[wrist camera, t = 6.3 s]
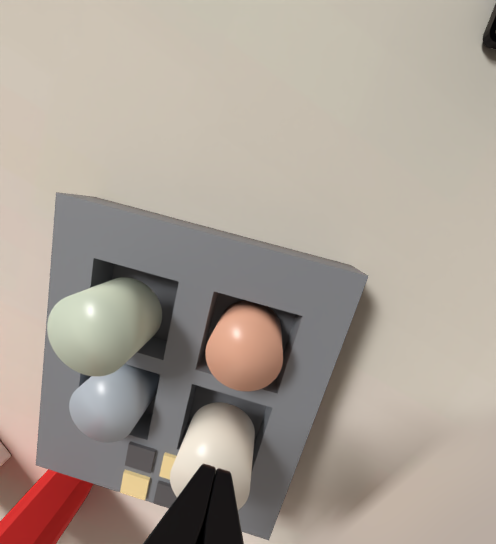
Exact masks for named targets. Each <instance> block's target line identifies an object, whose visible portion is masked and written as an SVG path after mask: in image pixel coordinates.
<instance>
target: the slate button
mask: <svg viewBox="0 0 496 544" xmlns="http://www.w3.org/2000/svg"><path fill="white" fill-rule="evenodd" d="M158 384H159V376H158V374H157V373H154V372H150V371H147V370H143V369H140V368H137V367H133V366H130V365H127V364H124V365H123V366H122V367H121V368H120V369H119V370H117V371H116V372H114V373H112V374H109V375H106V376H91V377H90V378H89V379H88V380H87V381H85V382H84V383H83V384H82V385H81V386H80V387H79V388H77V389H76V390H75V391H74V393H73V394H72V396H71V398H70V403H69V410H70V415H71V417H72V420H73V422H74V423H75V425H76V426H77V427H78V429H79V430H80V431H81V432H83V433H84V434H85V435H86V436H88V437H90V438H92V439H94V440H96V441H100V442H105V443H112V442H118V441H120V440H122V439H124V438H126V437H127V436H128V435H129V434H130V433H131V431H132V430H133V428H134V427H135V425H136V424H137V422H138V421H139V419H140V418H141V416H142V415H143V413H144V412H145V410H146V409H147V407H148V406H149V404H150V403H151V401H152V400H153V398H154V397H155V395H156V394H157V389H158Z"/></svg>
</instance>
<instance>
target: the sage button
mask: <svg viewBox="0 0 496 544" xmlns="http://www.w3.org/2000/svg"><path fill="white" fill-rule="evenodd" d="M161 322H162V308H161V305H160V302H159V299H158V298H157V296H156V294H155V293H154V292H153V291H152V290H151V288H150V287H148V286H147V285H146V284H144V283H143V282H141V281H139V280H136V279H133V278H128V277H120V278H116V279H113V280H110V281H107V282H105V283H102V284H99V285H97V286H94V287H91V288H89V289H86V290H83V291H81V292H78V293H75V294H73V295H70V296H67V297H65V298H63V299H62V300H60V301H59V302H58V303H57V304H56V305H55V306H54V307H53V309H52V310H51V312H50V314H49V318H48V323H47V332H48V338H49V341H50V344H51V346H52V348H53V350H54V352H55V353H56V355H57V356H58V357H59V358H60V360H61V361H62V362H63V363H64V364H66V365H67V366H68V367H70V368H71V369H73V370H74V371H76V372H78V373H81V374H84V375H88V376H106V375H109V374H112V373H114V372H116V371H117V370H119V369H120V368H121V367H122V366H123V365H124V364H125V363H126V362H127V361H128V360H129V359H130V358H131V357H132V356H133V355H134V354H135V353H136V352H137V351H138V350H139V349H140V348H142V347H143V346H144V345H145V344H146V343H147V342H148V341H149V340H150V339H151V338H152V337H153V336H154V335H155V334H156V333H157V331H158V329H159V327H160V325H161Z"/></svg>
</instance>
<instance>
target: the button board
mask: <svg viewBox="0 0 496 544" xmlns="http://www.w3.org/2000/svg"><path fill="white" fill-rule="evenodd" d="M120 277H128V278H133V279H136V280H139V281H141V282H143V283H144V284H146V285H147V286H148V287H150V288H151V290H152V291H153V292H154V293H155V294H156V296H157V298H158V299H159V302H160V305H161V308H162V322H161V325H160V327H159V329H158V331H157V333H156V334H155V335H154V336H153V337H152V338H151V339H150V340H149V341H148V342H147V343H146V344H145V345H144V346H143V347H142V348H140V349H139V350H138V351H137V352H136V353H135V354H134V355H133V356H132V357H131V358H130V359H129V360H128V361H127V362H126V363H125V364H127V365H130V366H133V367H137V368H140V369H143V370H147V371H150V372H154V373H157V374H158V376H159V384H158V389H157V394H156V395H155V397H154V398H153V400H152V401H151V403H150V404H149V406H148V407H147V409H146V410H145V412H144V413H143V415H142V416H141V418H140V419H139V421H138V422H137V424H136V425H135V427H134V428H133V430H132V431H131V433H130V434H129V435H128V436H127V437H126V438H124V439H122V440H120V441H118V442H112V443H105V442H100V441H96V440H94V439H92V438H90V437H88V436H86V435H85V434H84V433H83V432H81V431H80V430H79V429H78V427H77V426H76V425H75V423H74V422H73V420H72V417H71V415H70V410H69V403H70V398H71V396H72V394H73V393H74V391H75V390H76V389H77V388H79V387H80V386H81V385H82V384H83V383H84V382H85V381H87V380H88V379H89V378H90V377H91V376H88V375H84V374H81V373H78V372H76V371H74V370H73V369H71V368H70V367H68V366H67V365H66V364H64V363H63V362H62V361H61V360H60V358H59V357H58V356H57V355H56V353H55V352H54V350H53V348H52V346H51V344H50V341H49V338H48V332H47V323H48V318H49V314H50V312H51V310H52V309H53V307H54V306H55V305H56V304H57V303H58V302H59V301H60V300H62V299H63V298H65V297H67V296H70V295H73V294H75V293H78V292H81V291H83V290H86V289H89V288H91V287H94V286H97V285H99V284H102V283H105V282H107V281H110V280H113V279H116V278H120ZM367 279H368V275H366V274H364V273H363V272H361V271H359V270H358V269H356V268H355V267H353V266H351V265H348V264H344V263H340V262H337V261H333V260H329V259H325V258H322V257H318V256H314V255H310V254H307V253H303V252H299V251H295V250H292V249H288V248H284V247H280V246H277V245H273V244H269V243H265V242H262V241H258V240H254V239H250V238H247V237H243V236H239V235H235V234H232V233H228V232H224V231H220V230H217V229H213V228H209V227H205V226H202V225H198V224H194V223H190V222H187V221H183V220H179V219H175V218H172V217H168V216H164V215H160V214H157V213H153V212H149V211H145V210H142V209H138V208H134V207H130V206H127V205H123V204H119V203H115V202H112V201H108V200H104V199H100V198H97V197H90V196H82V195H74V194H66V193H57V192H56V202H55V215H54V229H53V242H52V255H51V269H50V282H49V296H48V309H47V322H46V336H45V349H44V362H43V376H42V389H41V403H40V416H39V429H38V443H37V456H36V465H37V466H40V467H43V468H46V469H49V470H52V471H55V472H59V473H62V474H65V475H68V476H71V477H74V478H77V479H80V480H83V481H86V482H90V483H93V484H96V485H99V486H102V487H105V488H108V489H111V490H114V491H118V492H120V493H123V494H126V495H129V496H132V497H136V498H139V499H142V500H145V501H149V502H152V503H154V504H157V505H160V506H164V507H167V508H170V507H171V505H172V504H173V503H174V501H175V500H176V498H177V497H176V495H175V494H174V492H173V490H172V487H171V484H170V472H171V469H172V466H173V464H174V461H175V459H176V457H177V454H178V452H179V449H180V447H181V444H182V442H183V440H184V437H185V435H186V432H187V430H188V427H189V425H190V423H191V420H192V418H193V416H194V414H195V413H196V412H197V411H198V410H199V409H200V408H201V407H203V406H205V405H207V404H210V403H216V402H222V403H228V404H231V405H234V406H236V407H238V408H240V409H241V410H243V411H244V412H245V413H246V414H247V415H248V416H249V418H250V419H251V421H252V423H253V425H254V429H255V438H254V449H253V460H252V471H251V482H250V493H249V497H248V499H247V501H246V503H245V504H244V505H243V506H242V507H241V508H240V509H239V510H238V514H239V520H240V525H241V531H242V532H245V533H248V534H251V535H254V536H257V537H260V538H263V539H267V540H269V538H270V536H271V533H272V530H273V528H274V525H275V522H276V520H277V517H278V514H279V512H280V509H281V507H282V504H283V501H284V499H285V496H286V493H287V491H288V488H289V485H290V483H291V480H292V477H293V475H294V472H295V469H296V467H297V464H298V461H299V459H300V456H301V454H302V451H303V448H304V446H305V443H306V440H307V438H308V435H309V432H310V430H311V427H312V424H313V422H314V419H315V416H316V414H317V411H318V408H319V406H320V403H321V401H322V398H323V395H324V393H325V390H326V387H327V385H328V382H329V379H330V377H331V374H332V371H333V369H334V366H335V363H336V361H337V358H338V355H339V353H340V350H341V347H342V345H343V342H344V340H345V337H346V334H347V332H348V329H349V326H350V324H351V321H352V318H353V316H354V313H355V310H356V308H357V305H358V302H359V300H360V297H361V294H362V292H363V289H364V287H365V284H366V281H367ZM243 300H247V301H250V302H254V303H257V304H261V305H264V306H268V307H270V308H271V309H272V310H273V311H274V312H275V313H276V315H277V316H278V318H279V321H280V324H281V332H282V348H283V364H282V368H281V371H280V373H279V374H278V376H277V377H276V379H275V380H274V381H273V382H272V383H271V384H269V385H268V386H266V387H264V388H262V389H259V390H255V391H238V390H234V389H231V388H229V387H227V386H225V385H223V384H222V383H220V382H219V381H218V380H217V379H216V378H215V377H214V376H213V374H212V373H211V371H210V370H209V367H208V365H207V362H206V346H207V342H208V340H209V338H210V336H211V334H212V333H213V331H214V329H215V327H216V325H217V323H218V322H219V320H220V318H221V316H222V314H223V313H224V311H225V310H226V309H227V308H228V307H229V306H231V305H232V304H234V303H236V302H239V301H243Z"/></svg>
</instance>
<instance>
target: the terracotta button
mask: <svg viewBox="0 0 496 544" xmlns="http://www.w3.org/2000/svg"><path fill="white" fill-rule="evenodd" d="M206 362H207V365H208V367H209V370H210V371H211V373H212V374H213V376H214V377H215V378H216V379H217V380H218V381H219V382H220V383H222V384H223V385H225V386H227V387H229V388H231V389H234V390H238V391H255V390H259V389H262V388H264V387H266V386H268V385H269V384H271V383H272V382H273V381H274V380H275V379H276V377H277V376H278V374H279V373H280V371H281V368H282V364H283V348H282V332H281V324H280V321H279V318H278V316H277V315H276V313H275V312H274V311H273V310H272V309H271V308H270V307H268V306H264V305H261V304H257V303H254V302H250V301H247V300H243V301H239V302H236V303H234V304H232V305H231V306H229V307H228V308H227V309H226V310H225V311H224V313H223V314H222V316H221V318H220V320H219V322H218V323H217V325H216V327H215V329H214V331H213V333H212V334H211V336H210V338H209V340H208V342H207V346H206Z"/></svg>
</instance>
